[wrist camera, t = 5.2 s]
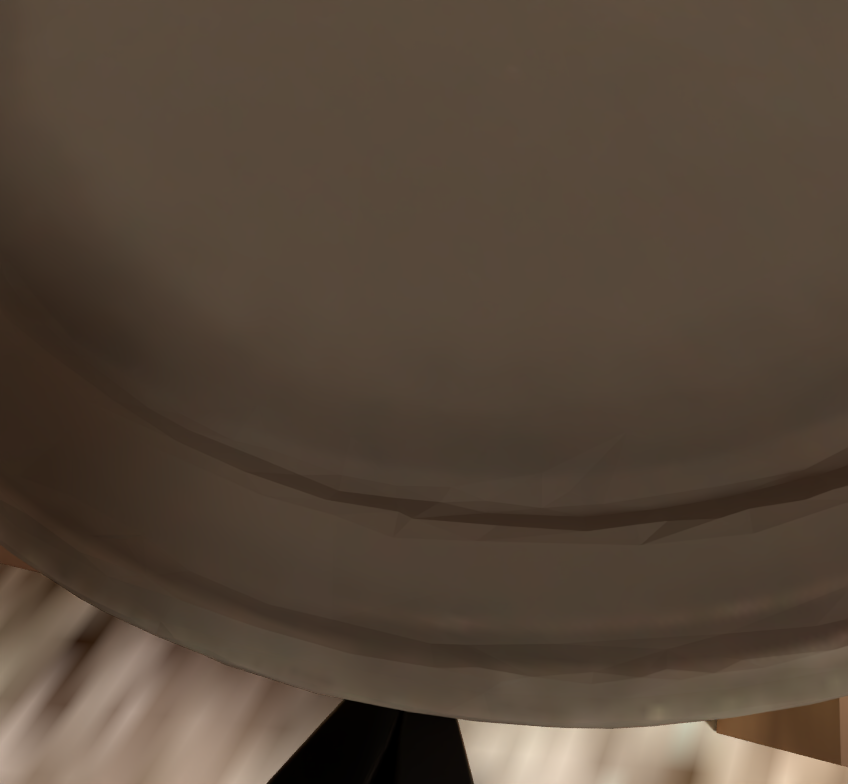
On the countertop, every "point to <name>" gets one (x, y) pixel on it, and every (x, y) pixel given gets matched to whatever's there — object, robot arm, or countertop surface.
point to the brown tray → (748, 719)
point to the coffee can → (438, 343)
